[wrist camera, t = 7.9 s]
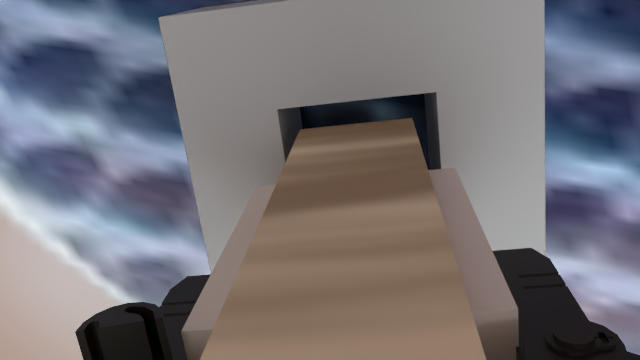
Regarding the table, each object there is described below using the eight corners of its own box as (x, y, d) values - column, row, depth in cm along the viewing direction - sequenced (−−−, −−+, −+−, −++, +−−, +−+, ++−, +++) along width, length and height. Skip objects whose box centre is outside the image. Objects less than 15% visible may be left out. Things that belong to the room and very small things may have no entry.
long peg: (299, 129, 19) (137, 501, 6) (412, 117, 18) (525, 488, 5) (314, 231, 20) (206, 744, 7) (420, 222, 19) (531, 748, 6)
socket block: (202, 7, 22) (158, 17, 18) (505, -32, 21) (544, -33, 16) (250, 270, 26) (224, 337, 21) (512, 249, 24) (545, 316, 20)
